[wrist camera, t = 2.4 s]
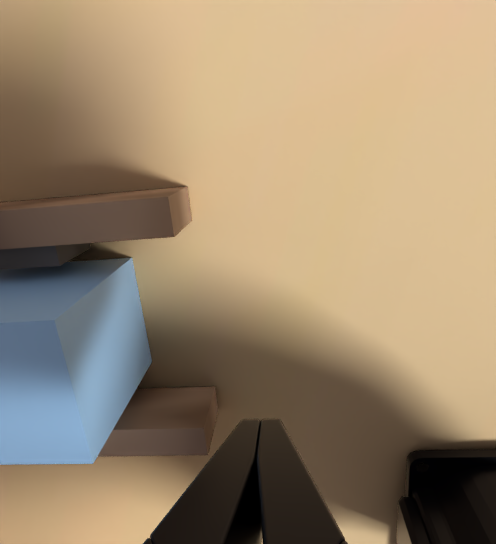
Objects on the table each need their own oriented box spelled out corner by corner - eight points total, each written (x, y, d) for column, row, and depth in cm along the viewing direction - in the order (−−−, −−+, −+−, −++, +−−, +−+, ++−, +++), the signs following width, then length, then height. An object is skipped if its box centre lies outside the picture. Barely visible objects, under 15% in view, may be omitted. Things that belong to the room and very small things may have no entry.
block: (132, 256, 15) (54, 320, 10) (152, 360, 17) (93, 463, 11) (-14, 266, 16) (-159, 330, 11) (17, 366, 17) (-97, 465, 12)
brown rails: (187, 186, 14) (168, 197, 12) (218, 410, 17) (207, 455, 15) (-120, 212, 15) (-193, 226, 13) (-41, 416, 18) (-89, 458, 16)
